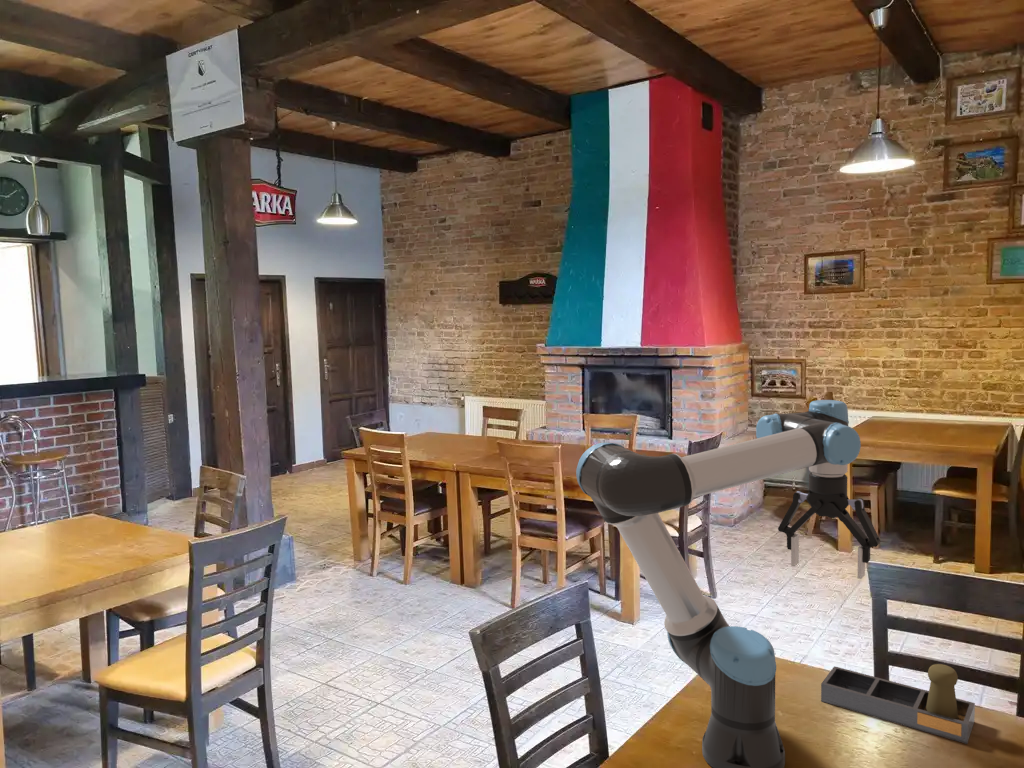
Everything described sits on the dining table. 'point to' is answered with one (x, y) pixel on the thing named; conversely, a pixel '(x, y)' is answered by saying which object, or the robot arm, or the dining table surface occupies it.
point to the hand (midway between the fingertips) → (827, 570)
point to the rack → (895, 703)
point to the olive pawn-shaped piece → (942, 691)
